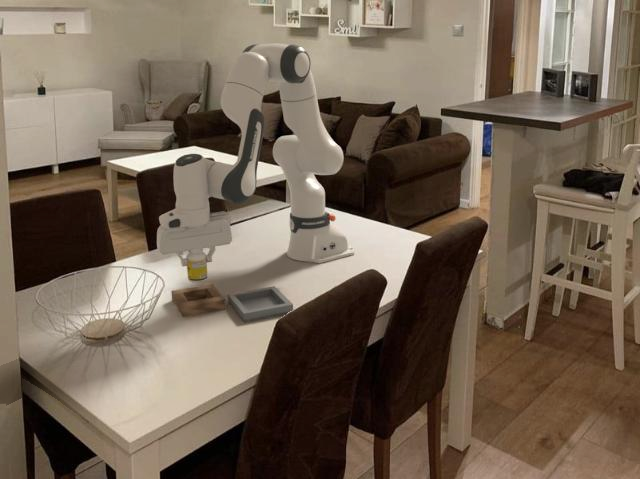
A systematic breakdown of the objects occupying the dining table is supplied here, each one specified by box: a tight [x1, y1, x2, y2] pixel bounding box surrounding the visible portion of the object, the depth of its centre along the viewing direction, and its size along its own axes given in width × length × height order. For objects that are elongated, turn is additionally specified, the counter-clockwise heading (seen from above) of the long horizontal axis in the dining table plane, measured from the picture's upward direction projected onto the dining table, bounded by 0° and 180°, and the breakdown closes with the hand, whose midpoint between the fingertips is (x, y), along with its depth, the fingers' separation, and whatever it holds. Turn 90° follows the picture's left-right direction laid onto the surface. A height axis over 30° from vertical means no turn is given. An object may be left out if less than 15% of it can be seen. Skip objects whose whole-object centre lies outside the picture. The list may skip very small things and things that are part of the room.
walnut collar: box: [171, 283, 226, 318], centre depth 203 cm, size 12×12×3 cm
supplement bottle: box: [185, 248, 209, 284], centre depth 200 cm, size 5×5×10 cm
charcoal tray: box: [227, 285, 294, 323], centre depth 202 cm, size 14×14×2 cm
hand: (196, 263), depth 200 cm, fingers closed on supplement bottle, 5 cm apart
